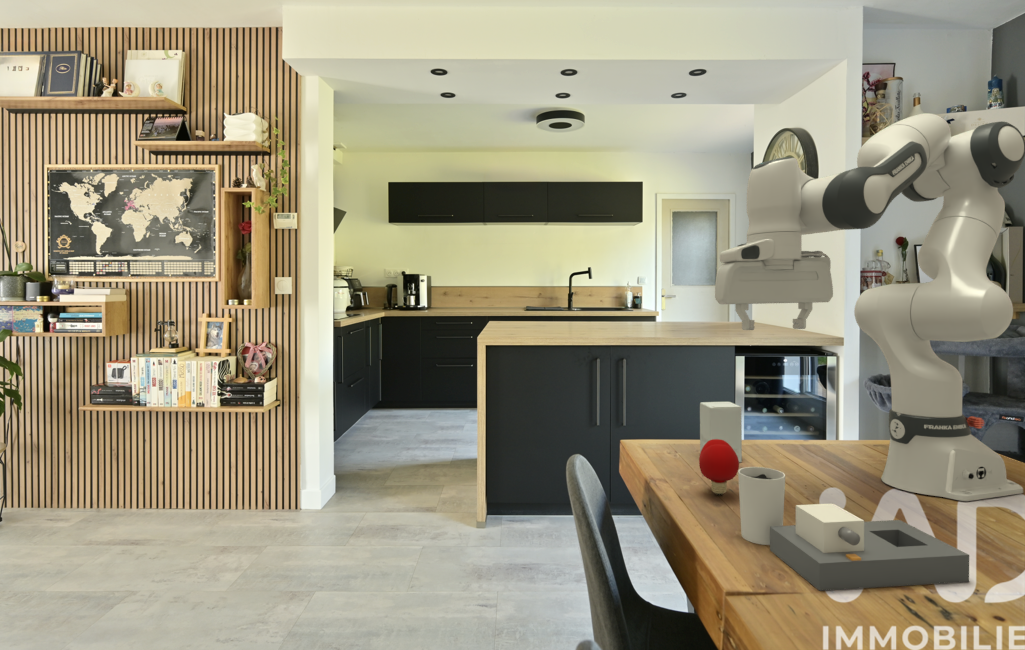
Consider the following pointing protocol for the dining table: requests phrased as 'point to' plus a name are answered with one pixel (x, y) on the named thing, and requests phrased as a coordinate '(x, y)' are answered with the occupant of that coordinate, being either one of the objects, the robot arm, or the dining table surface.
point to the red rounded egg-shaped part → (718, 464)
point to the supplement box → (721, 424)
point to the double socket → (874, 558)
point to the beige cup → (760, 502)
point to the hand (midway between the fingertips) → (773, 329)
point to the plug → (830, 528)
